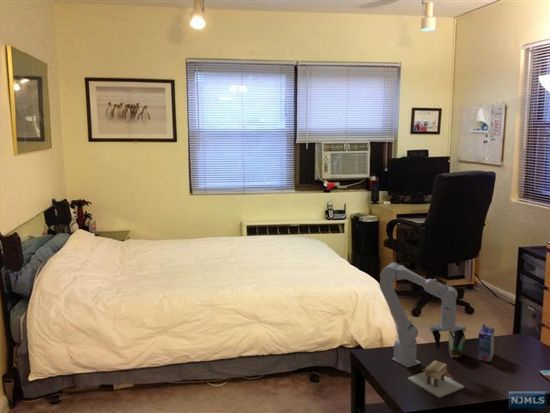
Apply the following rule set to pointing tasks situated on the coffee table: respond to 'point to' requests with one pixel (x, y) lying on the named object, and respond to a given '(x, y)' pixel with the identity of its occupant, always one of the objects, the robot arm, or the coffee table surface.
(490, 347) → the ink cartridge box
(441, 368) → the beige cardboard carton
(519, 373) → the coffee table surface
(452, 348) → the food container
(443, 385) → the blue-grey board
